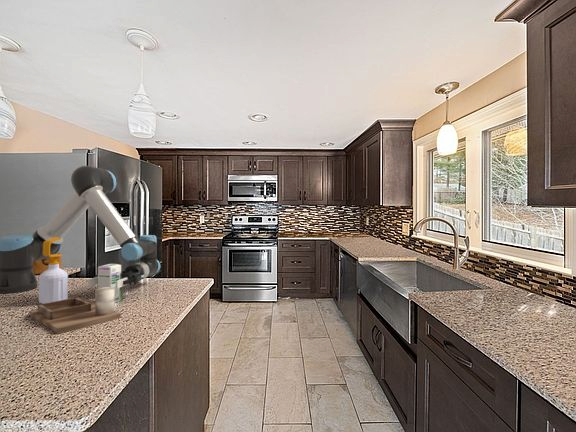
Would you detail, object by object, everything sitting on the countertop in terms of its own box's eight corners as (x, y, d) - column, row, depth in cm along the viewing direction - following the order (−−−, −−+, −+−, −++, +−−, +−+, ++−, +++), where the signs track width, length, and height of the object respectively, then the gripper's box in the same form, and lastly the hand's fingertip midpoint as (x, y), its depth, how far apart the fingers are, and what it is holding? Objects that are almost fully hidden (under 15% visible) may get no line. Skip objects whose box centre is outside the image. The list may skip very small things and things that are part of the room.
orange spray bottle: (61, 273, 172) (62, 232, 171) (32, 276, 164) (32, 233, 163) (60, 270, 179) (60, 231, 179) (31, 272, 171) (32, 231, 171)
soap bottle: (72, 299, 126) (73, 237, 126) (47, 305, 118) (48, 239, 117) (59, 296, 130) (59, 236, 129) (33, 302, 122) (34, 237, 121)
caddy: (29, 315, 108) (29, 287, 107) (87, 303, 122) (87, 278, 122) (58, 334, 93) (58, 301, 93) (120, 317, 108) (121, 289, 107)
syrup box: (110, 304, 121) (111, 266, 121) (97, 303, 122) (97, 265, 122) (121, 300, 127) (122, 264, 126) (108, 299, 128) (109, 263, 128)
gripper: (160, 282, 141) (131, 295, 119) (112, 279, 143) (74, 292, 121) (161, 265, 141) (131, 275, 119) (112, 262, 143) (74, 272, 121)
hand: (102, 284), depth 120 cm, fingers open, 10 cm apart
